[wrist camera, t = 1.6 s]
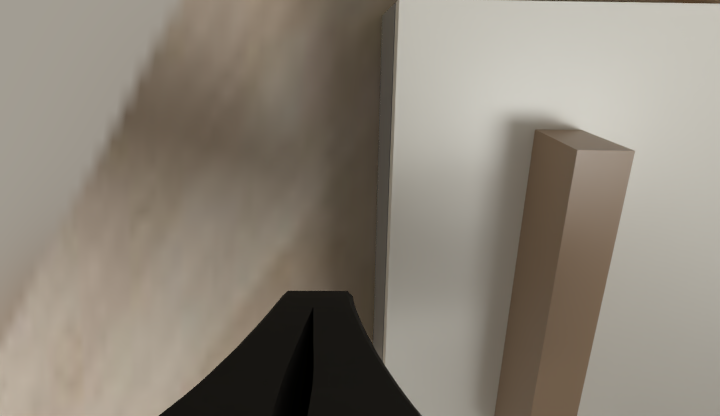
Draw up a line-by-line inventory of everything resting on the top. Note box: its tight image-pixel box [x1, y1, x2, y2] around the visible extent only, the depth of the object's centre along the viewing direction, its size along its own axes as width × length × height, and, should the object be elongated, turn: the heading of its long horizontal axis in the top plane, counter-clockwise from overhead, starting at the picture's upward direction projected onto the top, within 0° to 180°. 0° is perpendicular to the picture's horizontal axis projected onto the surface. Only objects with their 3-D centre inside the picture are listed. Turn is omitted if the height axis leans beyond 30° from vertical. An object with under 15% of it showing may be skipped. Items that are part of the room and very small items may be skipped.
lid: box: [383, 0, 720, 416], centre depth 11 cm, size 12×13×3 cm
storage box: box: [373, 3, 396, 361], centre depth 15 cm, size 12×13×5 cm
